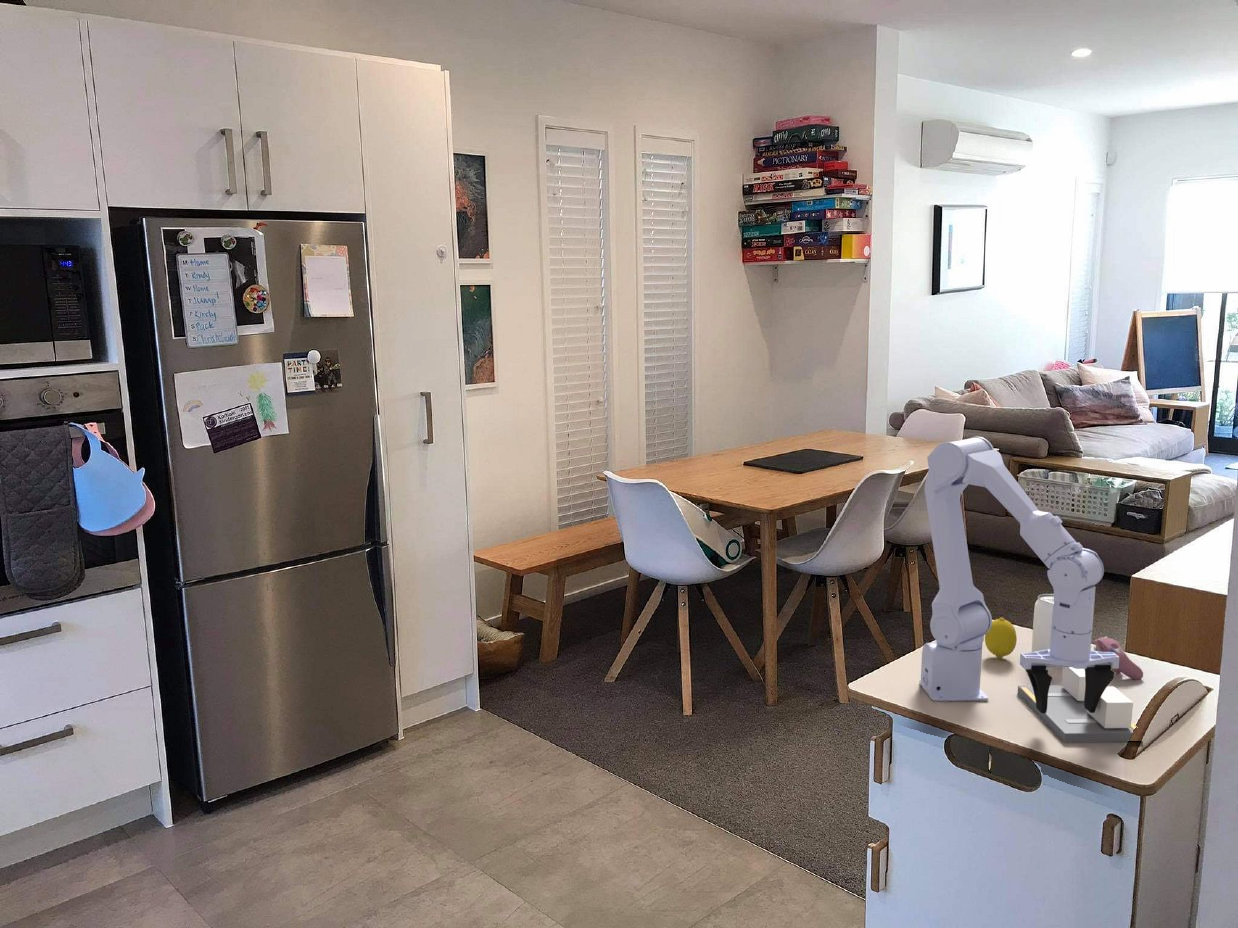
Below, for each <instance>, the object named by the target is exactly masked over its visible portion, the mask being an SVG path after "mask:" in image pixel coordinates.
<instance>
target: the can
mask: <svg viewBox="0 0 1238 928" xmlns="http://www.w3.org/2000/svg"><path fill="white" fill-rule="evenodd" d="M1053 595H1054V593H1042V594H1039V595H1038V596H1037V600H1036V602H1035V603H1034V610H1033V611H1034V612H1033V625H1032V635H1031V636H1032V637H1031V650H1030V651H1031V652H1037V651H1043V650H1048V649H1050V641H1051V627H1052V614H1053V600H1054V597H1053ZM1031 652H1030V653H1031Z"/></svg>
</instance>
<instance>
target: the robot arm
mask: <svg viewBox="0 0 1238 928" xmlns="http://www.w3.org/2000/svg"><path fill="white" fill-rule="evenodd" d="M926 459H927V465H928V471H927V474H926V479H925V483H924V496H925V502H926V508H927V515H928V522H929V527H930V528H929V530H930V533H931V541H932V547H933V554H934V559H935V566H936V567H935V568H936V573H937V579H938V587H939V590H938V592H937V594H936V595H935V597H934V598H933V600H932V603H931V610H932V611H931V612H932V615H931V619H930V621H929V622H930V623H929V626H930V632H931V634H932V636H933V638H934V640H935V641H932V642H925V643H924V644H923V646H922V651H921V666H920V667H921V669H920V680H919V682H918V683H919V685H921V687H922V688H923V689H924V691H925V692H926V694H927V695H928V697H929V698H930V700H932V701H934V702H944V701H945V702H949V701H951V702H953V701H954V702H956V701H957V702H959V701H963V702H964V701H965V702H967V701H973V702H974V701H988V700H989V697H988V695H987V694H986V693H985V692H984V691H983V690H982V688H981V676H982V675H981V673H982V672H981V671H982V661H983V660H982V657H983V642H985V634H986V633H988V631H989V630H990V629H991V626H992V621H993V619H992V618H993V617H992V614H991V611H990V609H989V608H988V606H987V605H986V602H985V598H984V597H985V596H984V594H983V592H981V591H980V590H979V589H978V588H977V587H975V585H974V582H973V575H972V574H973V573H972V569H971V561H970V557H969V556H970V555H969V554H970V553H969V549H968V544H967V535H966V531H965V523H964V518H963V517H964V516H963V511H962V510H963V509H962V504H961V494H962V492H963V491H964V490H965V489H966V488H967V487H968V486H969V485H971V486H977V487H983V488H985V489H987V490H988V491H989V492H990V494H992V496H994V498H996V500H997V501H998V502H999V503H1000V504H1001V505H1002V506H1003V507H1004V509H1006V510H1007V511H1008V513H1009V514H1010V515H1012V516H1013V518H1015V519H1016V521H1017V522H1019V524H1020V526H1019V527H1020V528H1019V529H1020V530H1019V535H1020V536H1021V538H1022V539H1023V540H1024V541H1025V542H1026V543H1027V545H1028V546H1029V547H1030V548H1031V550H1032V551H1033V552H1034V553H1035V554H1036V556H1038V558H1039V559H1040V560H1041V561H1042V562H1043V564H1044V565H1045V566H1046V568H1048V570H1047V572H1046V573H1047V578H1048V581H1049V583H1050V584H1051V586H1052V588H1053V594H1054V595H1053V597H1054V600H1053V614H1052V627H1051V641H1050V649H1048V650H1043V651H1037V652H1023V653H1022V652H1020V655H1019V666H1021V668H1023V669H1024V670H1025V672H1026V674H1027V676H1028V679H1029V681H1030V683H1031V686H1032V687H1033V691H1034V695H1035V700H1036V708H1037V709H1038V710H1039V711H1040V712H1041V713H1046V711H1047V703H1048V692H1049V687H1050V685H1051V683H1052V681H1053V677H1052V676H1051V675H1050V674H1049V670H1048V669H1047V668H1063V667H1073V668H1075V669H1085V697H1084V707H1085V708H1086V709H1087V710H1088V711H1089V712H1090V713H1095V710H1096V707H1097V704H1098V702H1099V700H1100V698H1101V695H1102V694H1103V692H1104V690H1105V689H1106V687H1109V685H1110V683H1112V682H1113V680H1114V678H1115V672H1114V671H1112V670H1111V668H1118V667H1119V656H1117V655H1116V654H1115V653H1113V652H1099V651H1094V650H1091V648H1092V639H1093V625H1094V614H1095V613H1094V611H1095V601H1096V600H1095V599H1096V598H1095V597H1096V586H1095V585H1097V584H1098V583H1099V582H1100V581H1101V580H1102V579H1103V576H1104V573H1105V567H1104V563H1103V561H1102V560H1101V558H1100V557H1099V554H1098V553H1097V552H1096V551H1094V550H1092V549H1089V548H1084V547H1083V545H1082V544H1081V543H1080V541H1078V542H1077V541H1076V539H1074V538H1073V536H1072V535H1070V533H1069V532H1068V530H1066V528H1065V527H1064V526H1063V525H1062V523H1063V520H1062V519H1061V518H1060V516H1059V515H1056V516H1054V515H1053V514H1052V513H1051V512H1048V511H1041V510H1039V508H1037V506H1036V505H1035V503H1034V502H1033V501H1032V500H1031V498H1030V497H1029V496H1028V495H1027V493H1026V492H1025V491H1024V489H1023V488H1022V487H1021V485H1020V484H1019V482H1018V481H1017V480H1016V479H1015V477H1014V476H1013V475H1012V473H1011V472H1010V470H1008V468H1007V467H1006V466H1005V463H1004V460H1003V457H1002V454H1001V453H1000V452H999V451H998V450H997V449H996V448H994V446H993V445H992V443H991V442H990V441H989V440H988V439H986V438H984V437H982V436H971V437H969V438H966V439H959V440H954V441H944V442H942V443H939V444H938V445H937V446H935V448H934V449H933V450H932V451H931V453H930V454H929V455H928V456H927V458H926Z"/></svg>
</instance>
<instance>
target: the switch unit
mask: <svg viewBox="0 0 1238 928" xmlns="http://www.w3.org/2000/svg"><path fill="white" fill-rule="evenodd" d="M1017 695H1018V696H1019V697H1020V698H1021V699H1022V700H1023V701H1024V702H1025V703H1026V704H1027V706H1028V707H1029V708H1030V709H1031V710H1032V711H1033V712H1034V713H1035V714H1036V715H1037V716H1038V717H1039V718H1040V719H1041V720H1042V721H1043V722H1044V723H1045V724H1046V726H1048V728H1050V729H1051V730H1052V732H1054V733H1055V735H1056V736H1057V737H1058V738H1060V740H1061V741H1062V742H1063V743H1129V742H1128V740H1129V739H1130V737H1131V735H1132V733H1133V729H1135V728H1136V727H1137V725H1135V724H1134V723H1133V721H1131V728H1104V727H1103V726H1102V725H1101V724H1100V723H1099V722H1098V721H1097V720H1095V719H1094V718H1093V717H1092V716H1091V715H1090V714H1089V713H1088V712H1087V709H1086V708H1085V707H1084V701H1077V700H1076V699H1075V698H1074V697H1073V696H1072V695H1071V694H1070V693H1069V692H1068V691H1067V690H1065V689H1064V688H1063V687H1062V684H1059V685H1058V684H1053V685H1052V684H1050V687H1049V692H1048V703H1047V711H1046V713H1041V712H1040V711H1039V710H1038V709H1037V708H1036V700H1035V695H1034V691H1033V687H1032V685H1017Z"/></svg>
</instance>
